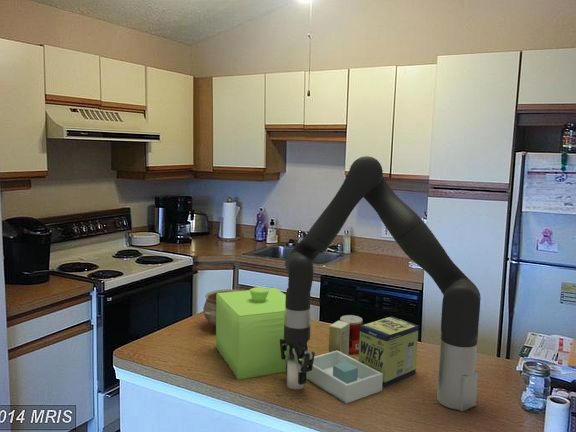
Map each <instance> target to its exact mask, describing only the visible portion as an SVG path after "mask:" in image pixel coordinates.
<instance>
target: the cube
mask: <svg viewBox="0 0 576 432" xmlns="http://www.w3.org/2000/svg"><path fill="white" fill-rule="evenodd" d="M333 376H334V377H336V378H338V379H339V380H341V381H343V382H345V383H346V384H348V383H351V382H354V381H357V377H358V368H357V367H355V366H353V365H352V364H350V363H348V362H343V363H340V364H336V365H333Z"/></svg>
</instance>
